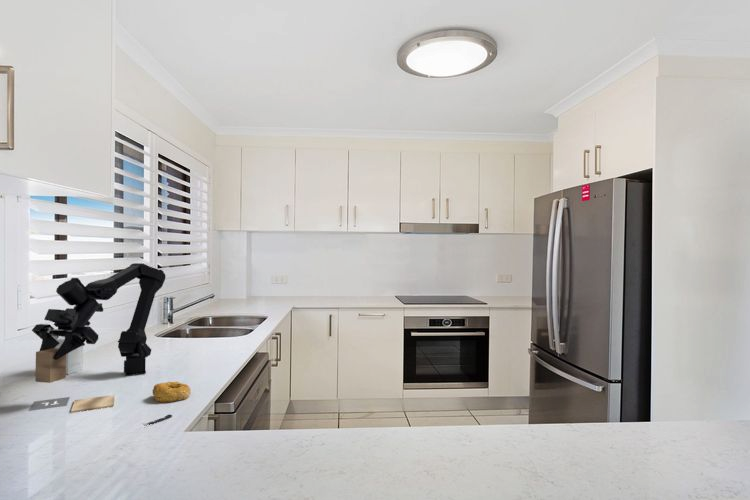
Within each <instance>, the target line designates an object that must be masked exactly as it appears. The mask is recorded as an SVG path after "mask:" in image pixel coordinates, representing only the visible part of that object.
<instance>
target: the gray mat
mask: <svg viewBox="0 0 750 500" xmlns="http://www.w3.org/2000/svg"><path fill="white" fill-rule="evenodd" d="M70 398H71V396H66V397H59V398H52V399H51V398H50V399H44V400H43V399H42V400H37V401H33V403H32V404H31V406H30V407H29V409H28V412H31V411H37V410H46V409H53V408H62V407H66V406H68V403H69V400H70Z"/></svg>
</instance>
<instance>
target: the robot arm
mask: <svg viewBox="0 0 750 500" xmlns="http://www.w3.org/2000/svg"><path fill="white" fill-rule="evenodd" d="M135 279H138V280H139V281H138V284H139V288H140V293H139V296H138V300H137V303H136V307H135V309H134V312H133V316H132V318H131V322H130V326H128V327H129V328H127V329H126V330H125V331H124V330H122V331H121V332H120V335H119V338H118V341H117V343H118V344H117V348H118V351H119V354H120V357H122V358H124V357H125V360H124V361H123V374H125V376H126V377H128V376H136V375H145V374H147V371H146V363H147V362H146V359H147V358H148V357H149V356H151V354H152V348H150V346H149V345H148V344H147V339H148V338H147V334H146V331H145V329H146V326H147V323H148V321H149V316H150V312H151V309H152V306H153V302H154V299H155V295H156V293H157V292H158V291H159V290H161V289H162V288H163V285H164V283H165V280H166V274H165V272H164V271H163V269H157V268H155V267H152V266H150V265H147V264H146V263H141V262H140V263H139V262H138V263H137V262H135V263H131V264H130V265H129V266H127V267H125V268H124V269H122V270H120V271H118V272H116V273H114V274H113V275H111V276H109V277H107V278H103V279H98V280H94V281H91V282H88V283H87V284H86V286H85V285H84V283H82V281H81V280H80V279H79V278H78V277H71V278H70V279H69V280H67V281H64V282H63V283H61V284H59V285H58V286H57V287H56V289H55V291H56V294H57V295H58V296H59V297H61V299H63V300H64V301H65V303H67V304H68V305H69V306H73V308H71V307H70V308H69V307H68V308H65V309H54V308H49V309H48V310H47V312H46V315H45V316H44V321H45V322H46V321H49V322H52V323H53V326H55V327H56V328H54V327H53V326H52V325H51V324H48V323H39V324H36V325H34V326H33V328H32V329H31V331H32V332H33V333H34V335H36V336H37V337H39V338H40V339H41V340H42V341H41V345H40V348H39V351H42V350H46V349H50V348H55V347H56V346H57V345H58V344H60V343H59V342H58V341H57V338H58V337H65V340H64V342H63V343H62V345H61V346H60V348H59V349H58V351H57V352H56V354H55V356H54V357H53V358H54V359H55V360H57V359H59V358H61V357H62V356H64V355H66V354H68V353H69V352H71V351H73V350H75V349H77V348H79V347H81V346H83V347H85V345H86V344H88V345H95V344H96V343H97V342H98V340H99V334H98V333H97V332H96V331H95V330H94V329H93V328H92V327H91V326H90V324H91V321H90V319H92V317H93V316H94V314H95V313H96V312H98V313H99V312H101V313H102V312H104V307H103V303H99V302H98V301H108V300H110V299H112V298H113V297H114V296H115V294H117V292H118V290H119V289H120V288H121V287H122V286H124V285H126V284H127V283H130V282H132V281H134V280H135ZM85 343H86V344H85Z"/></svg>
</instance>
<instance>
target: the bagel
mask: <svg viewBox="0 0 750 500" xmlns="http://www.w3.org/2000/svg"><path fill="white" fill-rule="evenodd" d="M191 393H192V391H191V387H190V386H189V385H188V384H186V383H182V382H178V381H168V382H160V383H156V384H155V385H154V386H153V389H152V395H153V398H154V400H155V401H156V402H158V403H173V402H178V401H184V400H187V399H188V398H189V397H190V395H191Z"/></svg>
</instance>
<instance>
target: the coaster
mask: <svg viewBox="0 0 750 500" xmlns="http://www.w3.org/2000/svg"><path fill="white" fill-rule="evenodd" d="M115 398H116V396H115V394H112V395H111V394H110V395H105V396H95V397H88V398H80V399H75V400H74V401H73V405H72V407H71V411H70V414H74V413H80V411H81V412H87V410H88V411H94V409H95V410H100V409H101V408H102V409H107V407H109V408H114V407H115ZM113 406H114V407H113Z"/></svg>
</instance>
